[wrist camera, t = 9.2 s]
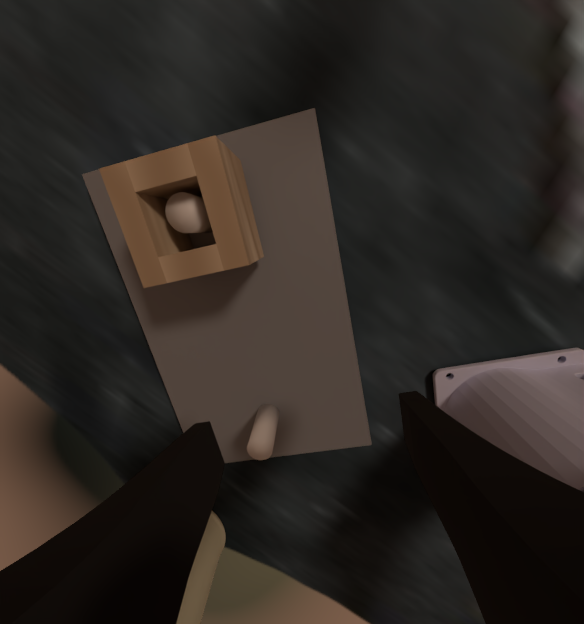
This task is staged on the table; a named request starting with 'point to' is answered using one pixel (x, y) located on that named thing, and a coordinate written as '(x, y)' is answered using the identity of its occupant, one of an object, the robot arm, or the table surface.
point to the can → (202, 572)
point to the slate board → (257, 308)
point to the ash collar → (194, 180)
